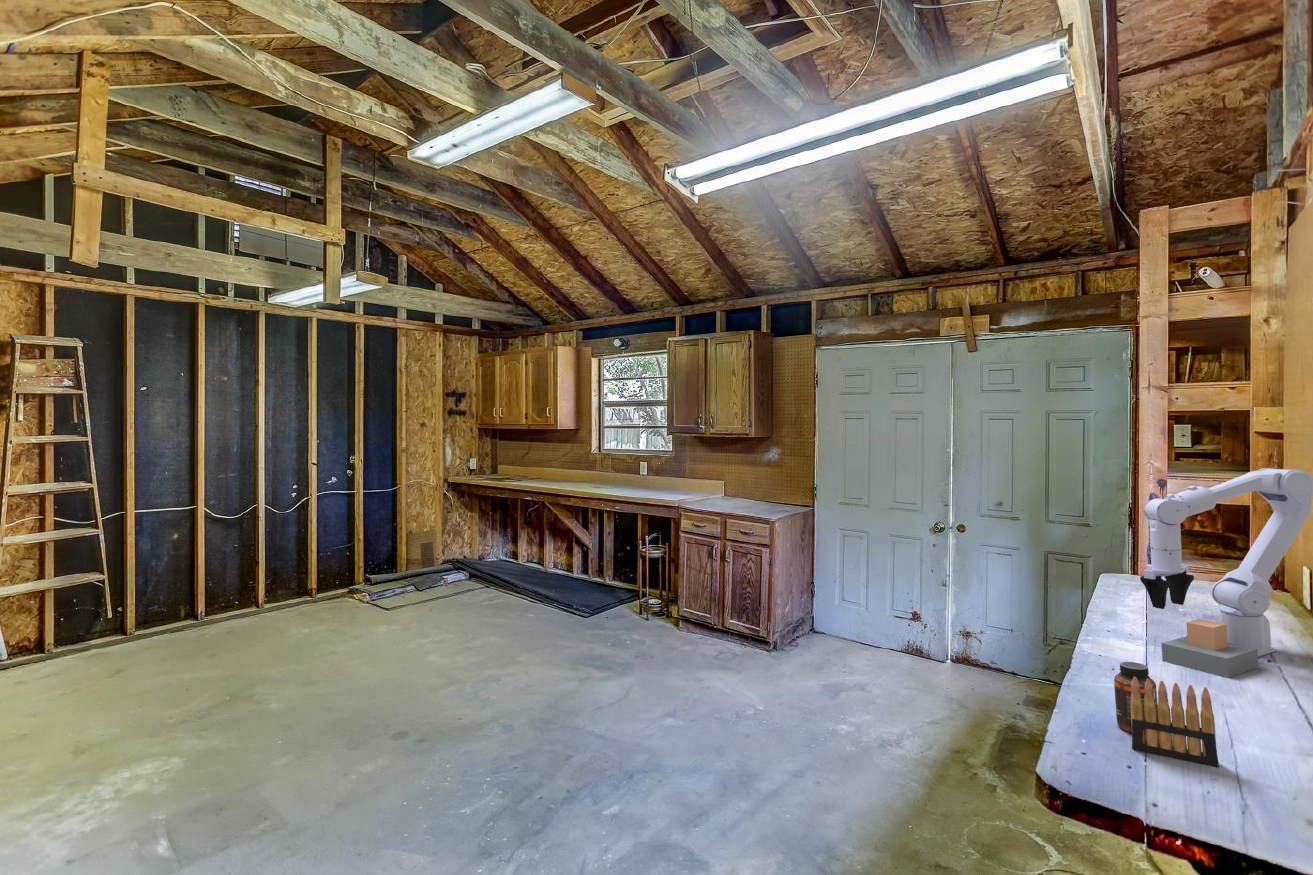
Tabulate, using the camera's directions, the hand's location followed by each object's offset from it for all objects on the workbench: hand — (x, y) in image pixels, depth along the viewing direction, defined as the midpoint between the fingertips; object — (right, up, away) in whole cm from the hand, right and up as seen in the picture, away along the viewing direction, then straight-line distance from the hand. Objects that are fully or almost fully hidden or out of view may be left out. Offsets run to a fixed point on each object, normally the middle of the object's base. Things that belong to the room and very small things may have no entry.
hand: (1168, 605), depth 147 cm
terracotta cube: (0, -6, -10) cm, 12 cm away
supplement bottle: (-37, -12, -38) cm, 55 cm away
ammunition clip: (-39, -12, -47) cm, 62 cm away
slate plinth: (+1, -10, -10) cm, 14 cm away
